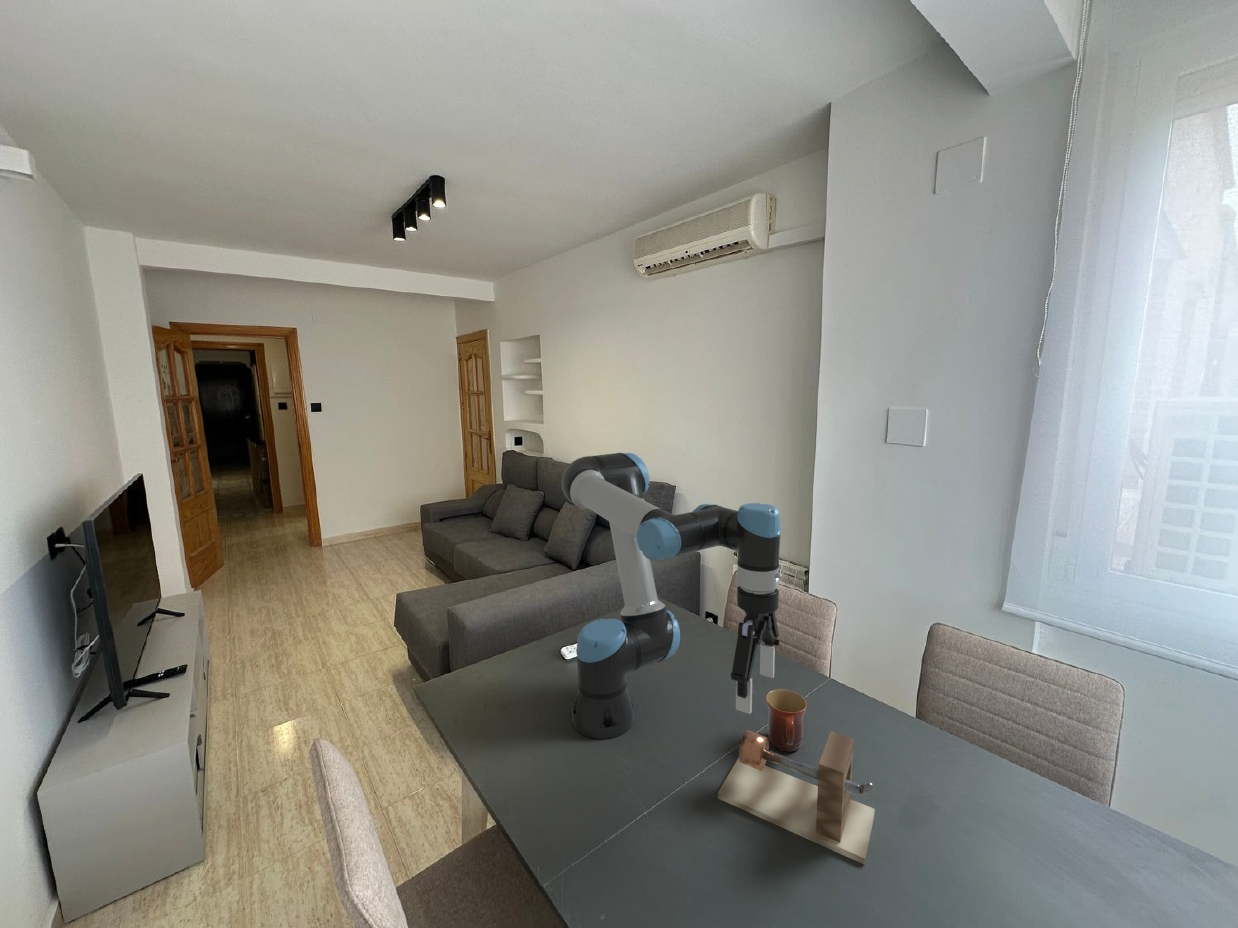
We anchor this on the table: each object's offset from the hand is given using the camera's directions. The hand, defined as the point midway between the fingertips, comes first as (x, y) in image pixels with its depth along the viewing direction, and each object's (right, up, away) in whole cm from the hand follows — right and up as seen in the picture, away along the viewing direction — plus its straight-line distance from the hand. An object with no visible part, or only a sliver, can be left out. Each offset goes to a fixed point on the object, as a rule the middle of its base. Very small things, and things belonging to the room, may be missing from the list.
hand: (755, 692), depth 98 cm
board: (+7, -21, -1) cm, 22 cm away
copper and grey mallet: (+8, -16, -3) cm, 18 cm away
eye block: (+13, -20, -5) cm, 25 cm away
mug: (+11, -19, +14) cm, 26 cm away
